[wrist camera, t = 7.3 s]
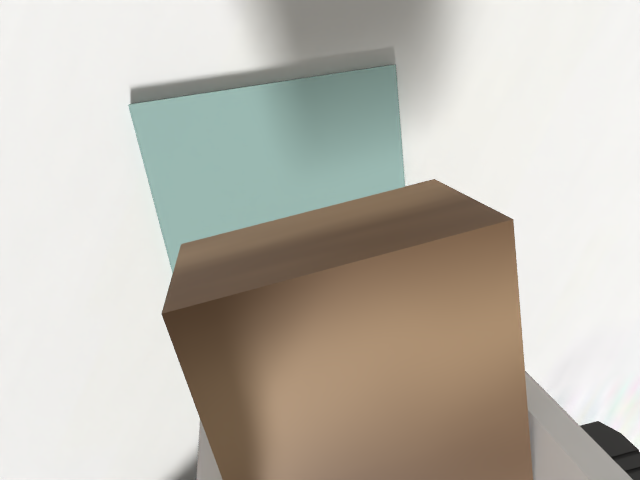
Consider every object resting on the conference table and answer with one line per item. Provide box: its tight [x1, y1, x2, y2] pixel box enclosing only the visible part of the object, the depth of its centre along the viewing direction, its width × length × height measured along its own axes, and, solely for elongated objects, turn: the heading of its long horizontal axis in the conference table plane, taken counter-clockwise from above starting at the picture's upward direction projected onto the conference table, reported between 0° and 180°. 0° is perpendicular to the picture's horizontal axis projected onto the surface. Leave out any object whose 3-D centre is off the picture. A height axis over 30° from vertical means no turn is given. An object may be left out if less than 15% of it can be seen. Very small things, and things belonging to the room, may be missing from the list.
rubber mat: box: [128, 65, 405, 273], centre depth 25 cm, size 12×18×1 cm, turn 7°
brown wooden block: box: [162, 179, 533, 480], centre depth 13 cm, size 12×7×4 cm, turn 11°
